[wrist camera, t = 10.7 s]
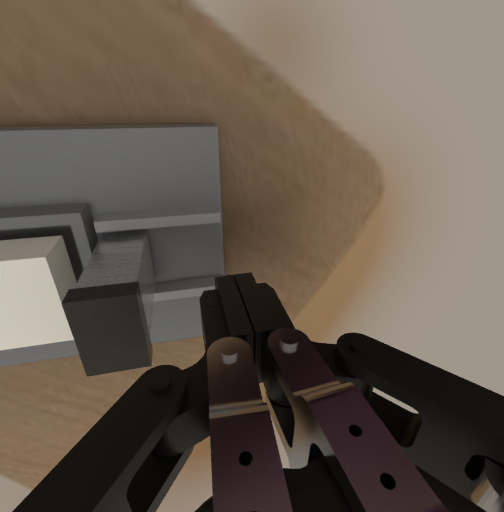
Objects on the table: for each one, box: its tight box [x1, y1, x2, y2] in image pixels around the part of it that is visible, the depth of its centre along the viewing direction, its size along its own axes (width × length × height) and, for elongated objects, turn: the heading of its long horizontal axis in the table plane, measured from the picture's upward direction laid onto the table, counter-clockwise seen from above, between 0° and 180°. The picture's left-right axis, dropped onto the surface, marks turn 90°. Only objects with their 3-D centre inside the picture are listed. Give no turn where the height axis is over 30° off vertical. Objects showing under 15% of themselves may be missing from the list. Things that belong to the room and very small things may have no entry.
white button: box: [0, 236, 77, 350], centre depth 13 cm, size 4×4×2 cm
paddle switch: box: [61, 229, 155, 376], centre depth 13 cm, size 2×3×6 cm
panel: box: [0, 123, 225, 367], centre depth 15 cm, size 18×12×3 cm, turn 90°
